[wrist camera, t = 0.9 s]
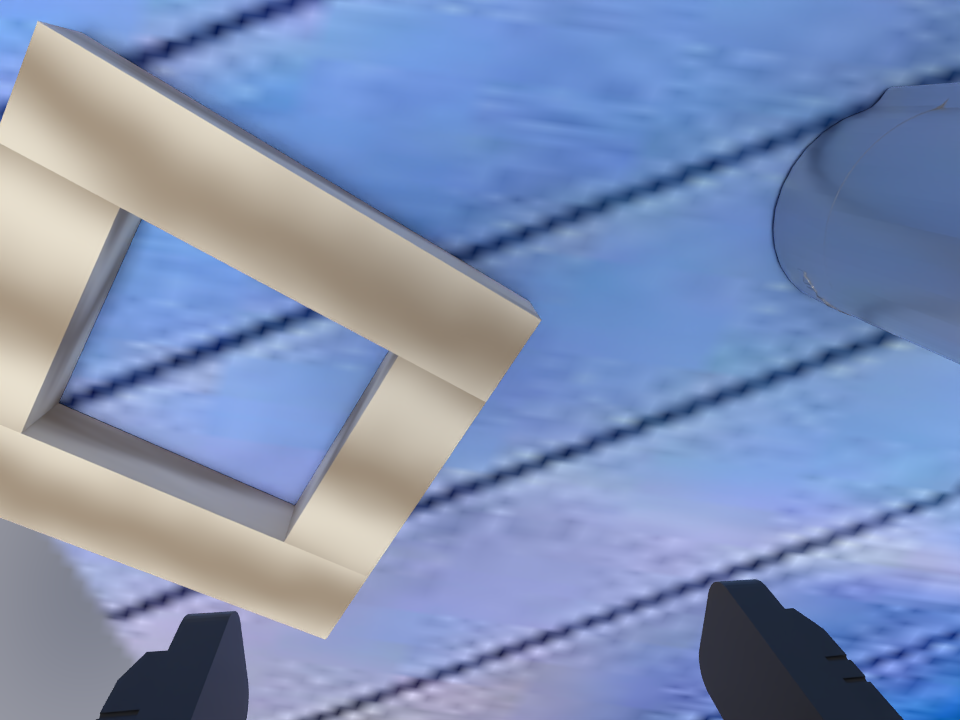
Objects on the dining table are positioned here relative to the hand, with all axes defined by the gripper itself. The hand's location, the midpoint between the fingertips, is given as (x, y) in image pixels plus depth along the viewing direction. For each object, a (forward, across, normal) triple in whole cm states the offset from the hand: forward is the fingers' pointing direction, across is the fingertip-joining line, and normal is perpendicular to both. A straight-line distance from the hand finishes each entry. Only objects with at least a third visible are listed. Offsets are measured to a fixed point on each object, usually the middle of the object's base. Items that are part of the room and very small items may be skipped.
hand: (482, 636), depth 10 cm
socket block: (+20, +10, +2) cm, 23 cm away
